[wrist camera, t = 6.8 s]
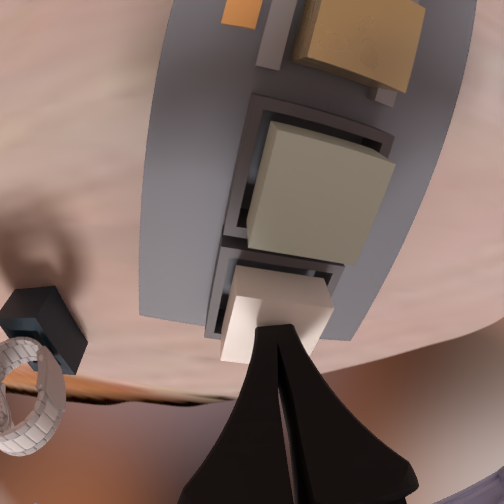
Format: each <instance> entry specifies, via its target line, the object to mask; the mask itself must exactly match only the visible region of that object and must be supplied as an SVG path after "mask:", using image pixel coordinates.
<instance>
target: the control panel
mask: <svg viewBox="0 0 504 504" xmlns="http://www.w3.org/2000/svg"><path fill="white" fill-rule="evenodd" d="M411 1H413V2H415V3H417V4H419V5H420V6H422V7H424V8H426V10H425V15H424V20H423V25H422V29H421V34H420V38H419V43H418V47H417V51H416V55H415V59H414V63H413V67H412V71H411V75H410V79H409V82H408V86H407V90H406V93H402V92H397V91H391V90H386V89H380V88H374V87H367V86H364V85H361V84H359V83H356V82H353V81H350V80H348V79H345V78H342V77H339V76H336V75H333V74H330V73H326V72H323V71H320V70H317V69H313V68H310V67H306V66H303V65H299V64H295V63H292V62H289V60H290V56H291V52H292V48H293V44H294V40H295V36H296V32H297V28H298V25H299V21H300V17H301V13H302V9H303V5H304V2H305V0H174V1H173V5H172V9H171V13H170V17H169V21H168V25H167V29H166V33H165V38H164V42H163V47H162V52H161V56H160V61H159V67H158V72H157V77H156V83H155V89H154V95H153V101H152V108H151V114H150V121H149V129H148V137H147V145H146V154H145V164H144V175H143V187H142V201H141V217H140V242H139V315H141V316H146V317H152V318H157V319H163V320H169V321H175V322H181V323H187V324H194V325H200V326H205V335H204V337H205V338H212V339H219V340H221V329H222V325H223V320H224V316H225V311H226V307H227V303H228V298H229V294H230V289H231V285H232V281H233V276H234V272H235V268H236V265H239V266H246V267H252V268H258V269H265V270H271V271H278V272H285V273H291V274H298V275H304V276H311V277H318V278H324V280H325V283H326V286H327V288H328V291H329V294H330V297H331V299H332V302H333V305H334V310H333V312H332V314H331V316H330V318H329V320H328V322H327V324H326V326H325V328H324V330H323V332H322V334H321V336H320V338H319V339H327V340H343V341H351V339H352V338H353V336H354V334H355V333H356V331H357V329H358V328H359V326H360V324H361V322H362V321H363V319H364V317H365V315H366V314H367V312H368V310H369V308H370V307H371V305H372V303H373V301H374V299H375V298H376V296H377V294H378V292H379V290H380V288H381V286H382V285H383V283H384V281H385V279H386V277H387V275H388V273H389V271H390V269H391V267H392V265H393V263H394V261H395V259H396V257H397V255H398V253H399V251H400V249H401V247H402V245H403V243H404V240H405V238H406V236H407V234H408V232H409V230H410V227H411V225H412V223H413V221H414V218H415V216H416V214H417V211H418V209H419V207H420V204H421V202H422V200H423V197H424V195H425V192H426V190H427V187H428V185H429V182H430V179H431V177H432V174H433V172H434V169H435V166H436V164H437V161H438V158H439V155H440V152H441V149H442V147H443V144H444V141H445V138H446V135H447V131H448V128H449V125H450V122H451V119H452V115H453V112H454V108H455V105H456V101H457V98H458V94H459V90H460V86H461V82H462V78H463V74H464V70H465V66H466V61H467V56H468V52H469V47H470V41H471V36H472V30H473V24H474V17H475V10H476V2H477V0H411ZM270 121H275V122H279V123H284V124H288V125H292V126H296V127H300V128H304V129H308V130H312V131H315V132H319V133H323V134H326V135H330V136H333V137H337V138H340V139H343V140H347V141H350V142H353V143H356V144H359V145H362V146H365V147H368V148H371V149H374V150H375V151H377V152H378V153H380V154H381V155H383V156H384V157H386V158H387V159H389V160H390V161H392V162H393V163H395V164H396V165H395V168H394V171H393V173H392V176H391V179H390V182H389V184H388V187H387V190H386V192H385V195H384V197H383V200H382V203H381V205H380V208H379V210H378V213H377V215H376V218H375V220H374V222H373V225H372V227H371V230H370V232H369V234H368V237H367V239H366V241H365V244H364V246H363V248H362V251H361V253H360V255H359V257H358V260H357V262H356V264H355V266H354V265H348V264H342V263H337V262H331V261H325V260H319V259H313V258H307V257H301V256H295V255H289V254H283V253H277V252H271V251H265V250H259V249H253V248H248V238H247V222H246V221H247V216H248V212H249V208H250V204H251V200H252V195H253V191H254V187H255V183H256V179H257V175H258V170H259V166H260V162H261V158H262V154H263V150H264V146H265V142H266V138H267V133H268V129H269V125H270Z"/></svg>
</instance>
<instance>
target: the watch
mask: <svg viewBox="0 0 504 504" xmlns="http://www.w3.org/2000/svg"><path fill="white" fill-rule="evenodd" d="M0 326H1V327H2V329H3V330H4V332H5V333H6V335H7V336H8V337H9V339H8V340H6V342H5V341H3V342H1V343H0V364H1V365H2V366H3V367H2V366H1V365H0V450H1V451H3V452H5V453H7V454H9V455H13V456H25V455H26V454H28V455H29V454H32V453H33V452H35V451H37V449H40V448H41V447H42V446H44V445H45V444H46V443H47V441H49V440H50V438H51V437H52V436H53V434H54V433H55V430H56V429H57V428H58V426H59V423H60V419H61V417H62V412H63V411H64V412H65V407H66V389H65V382H64V377H63V374H69V375H76V372H77V370H78V367H79V364H80V362H81V359H82V357H83V354H84V352H85V349H86V347H87V344H88V342H87V341H86V339H85V338H84V336H83V334H82V333H81V331H80V330H79V328H78V326H77V325H76V323H75V321H74V319H73V318H72V316H71V314H70V313H69V311H68V309H67V307H66V305H65V304H64V302H63V300H62V298H61V296H60V294H59V293H58V291H57V289H56V287H55V286H49V287H39V288H28V289H17V290H14V292H13V293H12V294H11V296H10V297H9V299H8V300H7V302H6V303H5V304H4V306H3V307H2V309H1V310H0ZM26 362H27V363H28V364H29V365H30V366H31V368H32V369H33V370H34V371H38V376H37V384H36V388H37V390H38V391H39V392H38V397H37V400H36V405H35V406H34V411H32V412H31V413H30V414H29V415H28V416H27V418H26V419H25V422H24V421H22V422H21V423H20V424H18V425H17V426H15V427H14V423H13V422H12V420H11V414H10V409H9V407H8V403H7V401H6V398H5V384H4V383H1V382H2V381H3V379H4V378H5V375H6V376H7V375H8V374H9V373H10V372H11V371H12V370H13V369H15V368H16V367H18V366H19V365H21V363H22V364H24V363H26ZM11 366H12V367H11ZM3 373H4V374H5V375H4V374H3ZM45 414H46V415H47V416H46V415H45ZM35 424H36V425H37V426H38V427H37V426H36V425H35ZM52 427H53V428H54V429H53V428H52ZM13 428H14V429H13ZM43 431H44V432H43Z"/></svg>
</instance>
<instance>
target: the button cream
mask: <svg viewBox="0 0 504 504" xmlns="http://www.w3.org/2000/svg"><path fill="white" fill-rule="evenodd" d="M333 310H334V305H333V302H332V299H331V297H330V294H329V291H328V288H327V286H326V283H325V280H324V278H318V277H311V276H304V275H298V274H291V273H285V272H278V271H271V270H265V269H258V268H252V267H246V266H239V265H236V268H235V272H234V276H233V281H232V285H231V289H230V294H229V298H228V303H227V307H226V311H225V316H224V320H223V325H222V329H221V353H220V361H228V362H237V363H247V364H249V363H250V360H251V355H252V351H253V345H254V337H255V328H257V327H259V326H272V325H283V324H292V325H294V327H295V330H296V332H297V334H298V336H299V339H300V341H301V343H302V344H303V346H304V348H305V350H306V352H307V354H308V355H309V356H310V354H311V353H312V351H313V349H314V347H315V345H316V343H317V341H318V340H319V338H320V336H321V334H322V332H323V330H324V328H325V326H326V324H327V322H328V320H329V318H330V316H331V314H332V312H333Z"/></svg>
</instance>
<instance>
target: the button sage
mask: <svg viewBox="0 0 504 504" xmlns="http://www.w3.org/2000/svg"><path fill="white" fill-rule="evenodd" d="M395 165H396V164H395V163H393V162H392V161H390V160H389V159H387V158H386V157H384V156H383V155H381V154H380V153H378V152H377V151H375V150H374V149H371V148H368V147H365V146H362V145H359V144H356V143H353V142H350V141H347V140H343V139H340V138H337V137H333V136H330V135H326V134H323V133H319V132H315V131H312V130H308V129H304V128H300V127H296V126H292V125H288V124H284V123H279V122H275V121H270V125H269V129H268V133H267V138H266V142H265V146H264V150H263V154H262V158H261V162H260V166H259V170H258V175H257V179H256V183H255V187H254V191H253V195H252V200H251V204H250V208H249V212H248V216H247V221H246V222H247V238H248V248H253V249H259V250H265V251H271V252H277V253H283V254H289V255H295V256H301V257H307V258H313V259H319V260H325V261H331V262H337V263H342V264H348V265H354V266H355V264H356V262H357V260H358V257H359V255H360V253H361V251H362V248H363V246H364V244H365V241H366V239H367V237H368V234H369V232H370V230H371V227H372V225H373V222H374V220H375V218H376V215H377V213H378V210H379V208H380V205H381V203H382V200H383V197H384V195H385V192H386V190H387V187H388V184H389V182H390V179H391V176H392V173H393V171H394V168H395Z"/></svg>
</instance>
